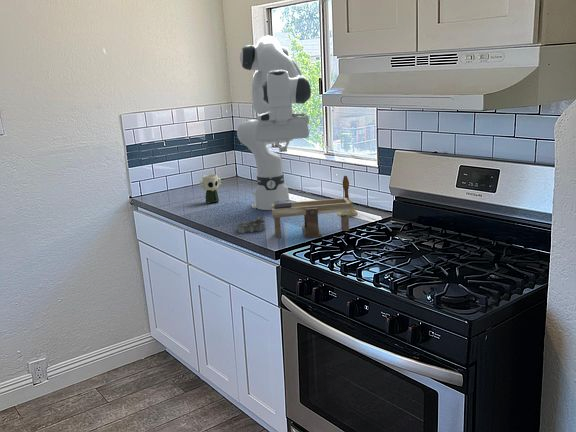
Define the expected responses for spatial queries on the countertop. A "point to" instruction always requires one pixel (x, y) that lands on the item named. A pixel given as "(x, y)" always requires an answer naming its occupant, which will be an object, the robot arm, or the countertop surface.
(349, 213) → the hand bell
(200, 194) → the countertop surface
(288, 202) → the steel block
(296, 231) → the countertop surface
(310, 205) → the beam
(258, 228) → the egg carton
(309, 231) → the beam stand
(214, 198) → the spiky head figurine
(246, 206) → the countertop surface
